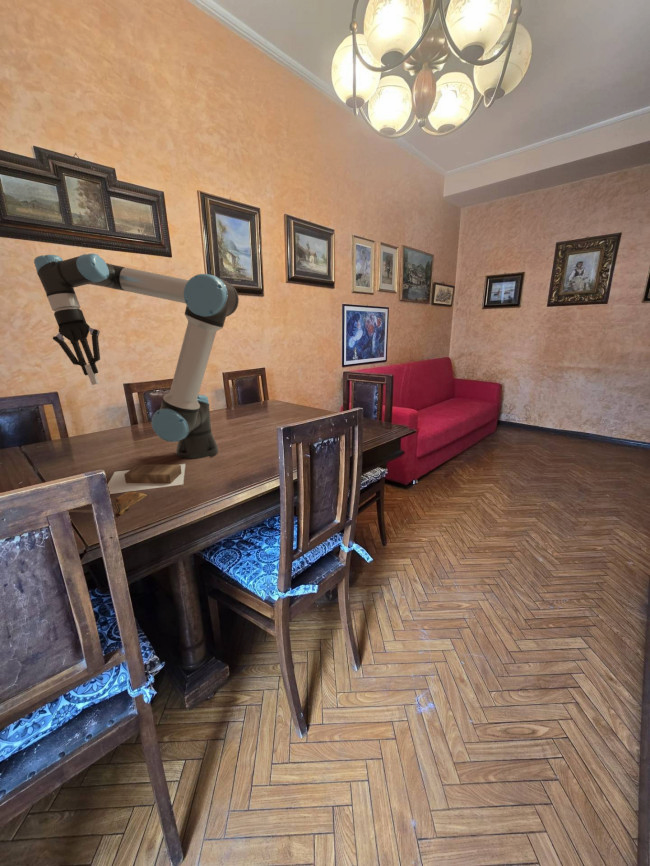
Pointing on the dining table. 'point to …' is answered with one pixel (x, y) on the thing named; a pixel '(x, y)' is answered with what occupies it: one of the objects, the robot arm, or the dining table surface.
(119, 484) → the white paper sheet
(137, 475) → the walnut slab
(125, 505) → the shard
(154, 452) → the dining table surface
